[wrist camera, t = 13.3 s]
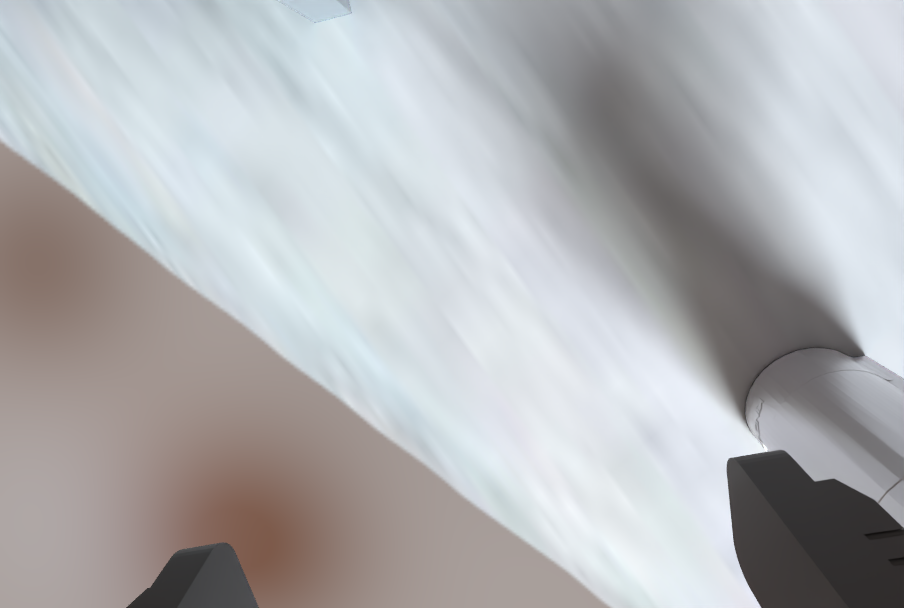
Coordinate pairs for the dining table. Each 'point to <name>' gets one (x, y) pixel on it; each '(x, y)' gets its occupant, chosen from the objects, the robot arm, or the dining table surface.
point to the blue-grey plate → (319, 8)
